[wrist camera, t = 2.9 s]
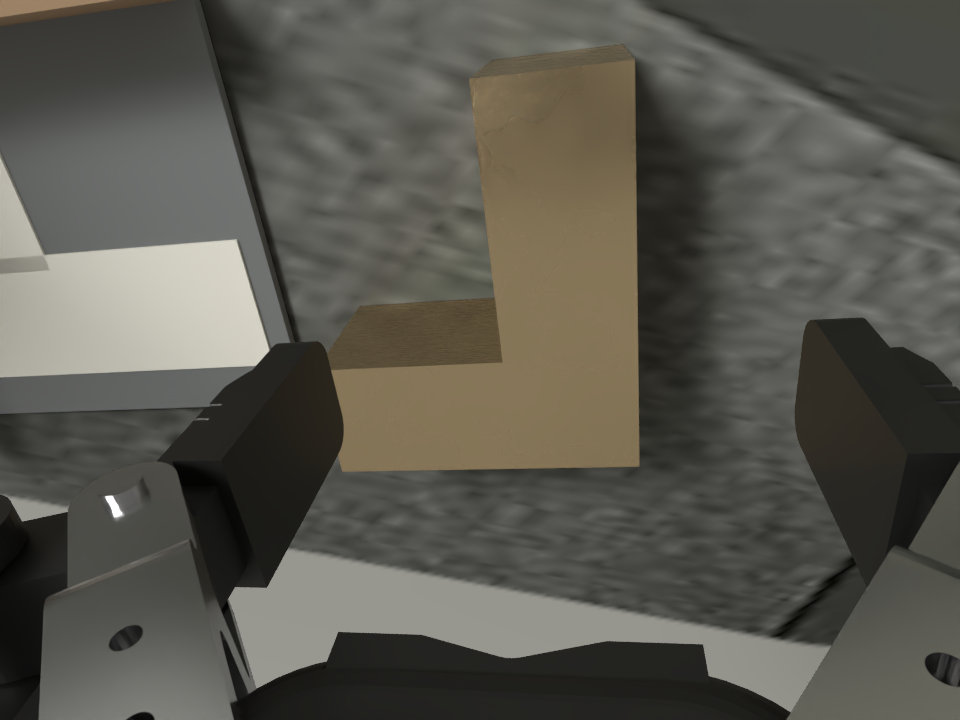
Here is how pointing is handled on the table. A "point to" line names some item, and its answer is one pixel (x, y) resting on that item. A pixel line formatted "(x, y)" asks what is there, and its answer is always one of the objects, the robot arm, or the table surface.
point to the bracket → (519, 294)
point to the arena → (124, 213)
